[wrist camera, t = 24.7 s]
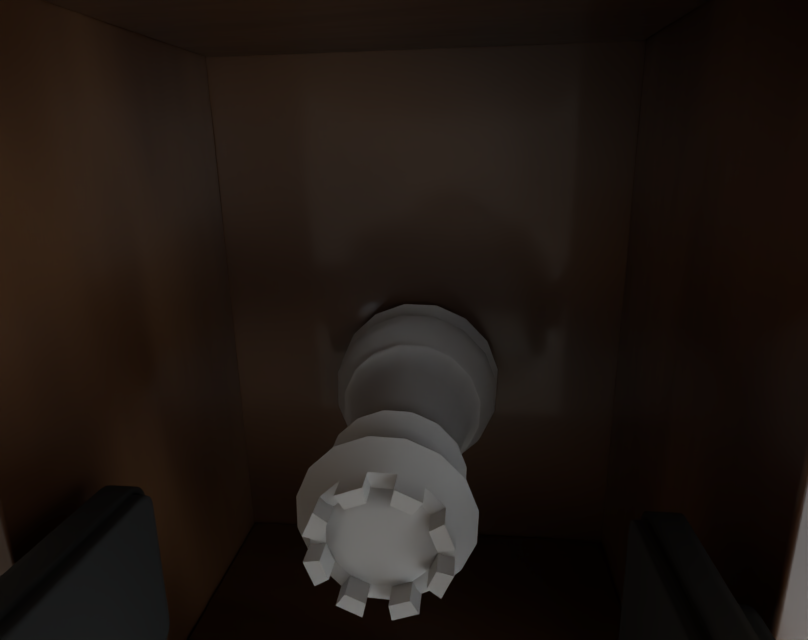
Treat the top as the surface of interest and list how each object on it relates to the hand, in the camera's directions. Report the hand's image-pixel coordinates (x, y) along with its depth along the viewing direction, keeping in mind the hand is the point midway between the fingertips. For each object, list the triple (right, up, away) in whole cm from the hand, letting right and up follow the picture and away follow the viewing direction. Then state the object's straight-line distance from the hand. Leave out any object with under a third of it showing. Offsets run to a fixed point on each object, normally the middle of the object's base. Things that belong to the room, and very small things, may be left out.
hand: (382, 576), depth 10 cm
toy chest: (+1, +5, +7) cm, 9 cm away
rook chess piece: (+1, +3, +7) cm, 8 cm away
